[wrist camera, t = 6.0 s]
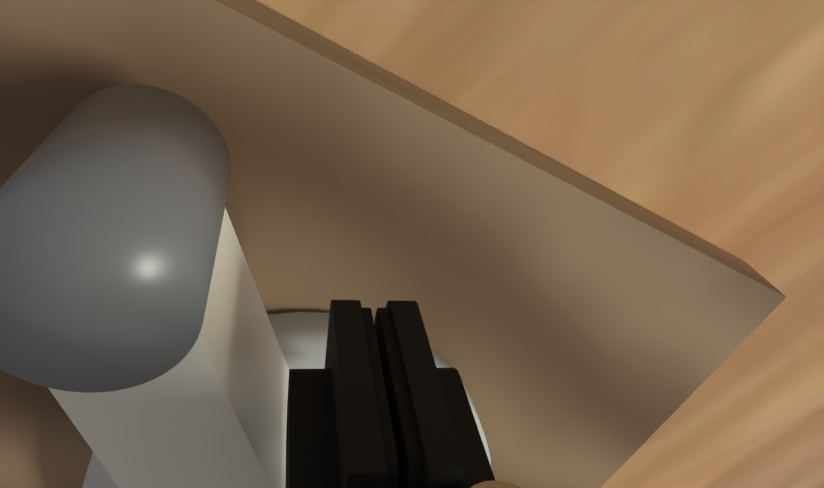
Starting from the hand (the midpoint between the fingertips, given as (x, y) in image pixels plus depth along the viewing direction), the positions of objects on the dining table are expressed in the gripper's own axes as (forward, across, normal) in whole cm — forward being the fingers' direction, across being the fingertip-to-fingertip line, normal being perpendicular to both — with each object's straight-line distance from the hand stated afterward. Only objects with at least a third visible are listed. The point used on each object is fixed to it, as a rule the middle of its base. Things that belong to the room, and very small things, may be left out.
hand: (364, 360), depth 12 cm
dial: (+4, +2, +4) cm, 6 cm away
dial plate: (+6, +1, +7) cm, 9 cm away
